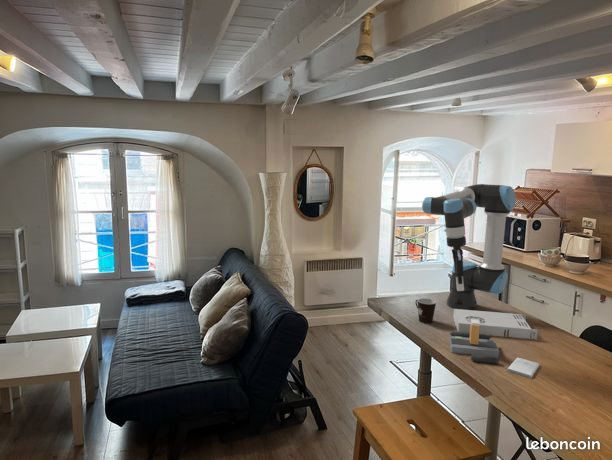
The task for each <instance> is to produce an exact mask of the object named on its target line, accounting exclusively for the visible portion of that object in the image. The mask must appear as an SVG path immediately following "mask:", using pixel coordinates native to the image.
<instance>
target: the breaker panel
mask: <svg viewBox="0 0 612 460" xmlns="http://www.w3.org/2000/svg"><path fill="white" fill-rule="evenodd" d="M448 342H449V347H450V351H451V353H453V354H454V353H455V354H463V355H471V356H472V355H480V356H489V357H497V358H498V359H500V350H499V348H498V345H497V343H496V340H494V339H490V340H488V339H487V340H485V339H479V341H478V345H475V344H470V341H469V338H466V337H458V336H451V335H449V341H448Z"/></svg>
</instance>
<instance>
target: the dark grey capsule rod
mask: <svg viewBox="0 0 612 460" xmlns="http://www.w3.org/2000/svg"><path fill="white" fill-rule="evenodd" d="M470 360H471V361H472V362H475V363H476V362H477V363H478V362H479V363H487V364H494V365H495V364H499V363H500V358H497V357H489V356H480V355H471V356H470Z"/></svg>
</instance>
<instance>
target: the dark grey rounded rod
mask: <svg viewBox="0 0 612 460" xmlns="http://www.w3.org/2000/svg"><path fill="white" fill-rule="evenodd" d="M450 336H458V337H466V338H469V337H470V333H464V332H458V331H451V332H450ZM479 339H485V340H487V339H488V340H491V335H484V334H479Z"/></svg>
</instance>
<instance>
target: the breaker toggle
mask: <svg viewBox="0 0 612 460" xmlns="http://www.w3.org/2000/svg"><path fill="white" fill-rule="evenodd" d="M479 329H480V322H479V320H472V319H471V324H470V337H469V341H470V344H475V345H478V341H479Z"/></svg>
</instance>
